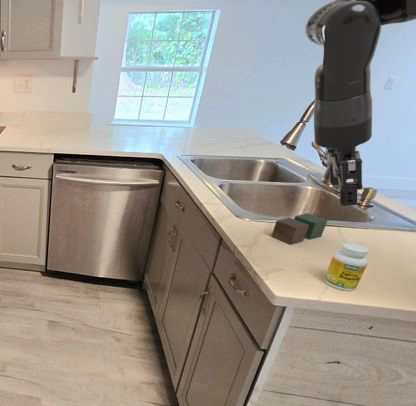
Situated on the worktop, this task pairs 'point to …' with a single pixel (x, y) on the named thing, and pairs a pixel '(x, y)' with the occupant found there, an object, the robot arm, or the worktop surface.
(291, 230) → the walnut block
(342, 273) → the supplement bottle
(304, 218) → the green block
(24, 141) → the worktop surface
